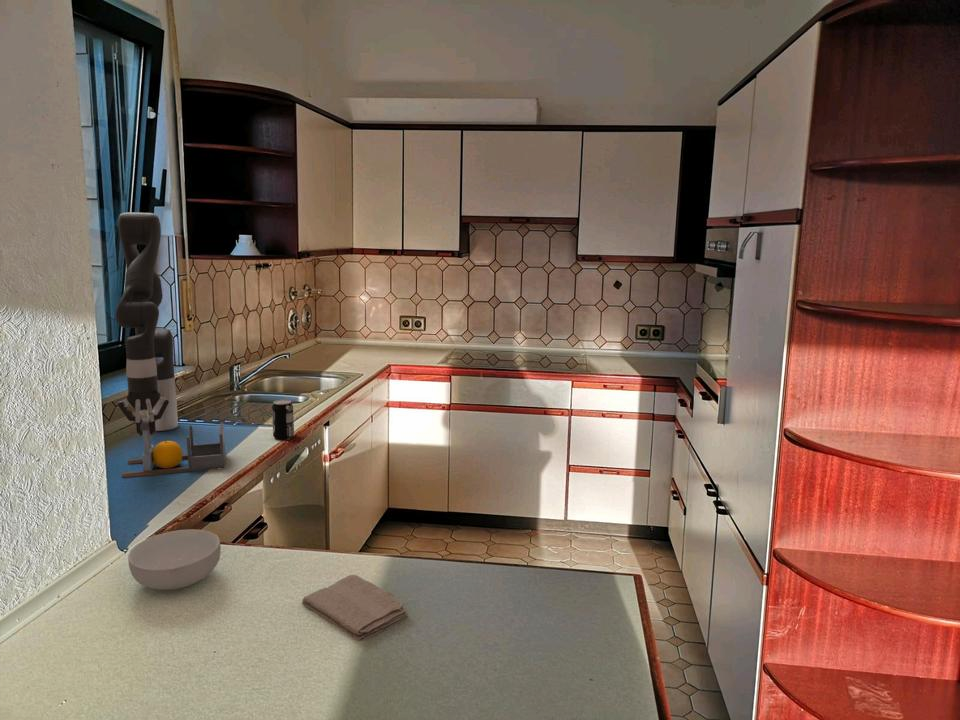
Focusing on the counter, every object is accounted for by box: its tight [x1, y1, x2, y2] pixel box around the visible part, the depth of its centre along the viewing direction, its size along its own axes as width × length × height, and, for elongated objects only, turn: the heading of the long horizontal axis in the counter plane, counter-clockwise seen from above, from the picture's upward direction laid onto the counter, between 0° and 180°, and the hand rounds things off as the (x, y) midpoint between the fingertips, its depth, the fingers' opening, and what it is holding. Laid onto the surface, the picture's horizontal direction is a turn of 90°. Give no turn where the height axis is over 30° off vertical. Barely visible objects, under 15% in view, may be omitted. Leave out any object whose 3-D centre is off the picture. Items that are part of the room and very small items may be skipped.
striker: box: [140, 417, 155, 471], centre depth 201 cm, size 9×2×14 cm, turn 18°
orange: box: [152, 440, 184, 469], centre depth 204 cm, size 8×8×8 cm
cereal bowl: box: [127, 528, 222, 591], centre depth 141 cm, size 17×17×7 cm
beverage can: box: [271, 398, 295, 441], centre depth 231 cm, size 7×7×12 cm
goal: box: [186, 422, 226, 472], centre depth 207 cm, size 12×9×10 cm
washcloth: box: [301, 574, 408, 642], centre depth 131 cm, size 12×18×3 cm, turn 48°
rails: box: [121, 454, 190, 478], centre depth 203 cm, size 12×17×1 cm
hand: (146, 433), depth 201 cm, fingers closed on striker, 2 cm apart
